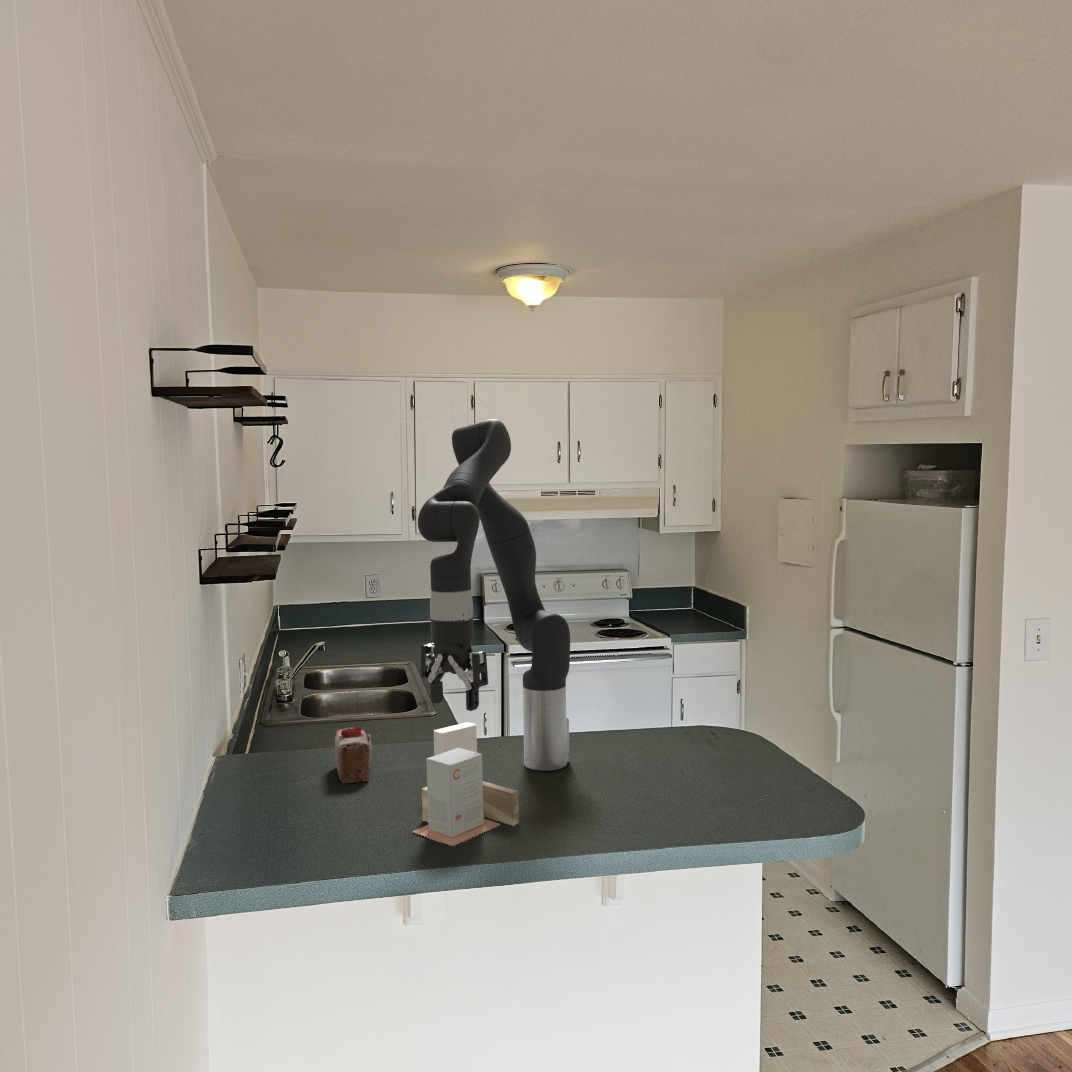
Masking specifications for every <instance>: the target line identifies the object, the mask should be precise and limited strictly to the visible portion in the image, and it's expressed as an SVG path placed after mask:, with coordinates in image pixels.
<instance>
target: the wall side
mask: <svg viewBox="0 0 1072 1072" xmlns="http://www.w3.org/2000/svg"><path fill="white" fill-rule="evenodd" d="M421 809H422V810H421V811H422V816H421V817H422V821H423V822H425V821H426V822H425V823H428V796H427V786H425V787H422V788H421Z"/></svg>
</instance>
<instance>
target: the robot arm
mask: <svg viewBox="0 0 1072 1072" xmlns="http://www.w3.org/2000/svg"><path fill="white" fill-rule="evenodd" d="M451 435H452V436H451V445H452V450H453V453H454V454H453V455H454V457H455V459H456V462H457V464H458V466H457V467H455V468H454V470H453V471H452V472H451V473H450V474H449V476H448V477H447V479H446V482H445V483H444V485H443V488H441V489H440V490H438V491H437V492H436V493H434V495H432V496H431V497H430V498H428V499H427V500H426V501H425V502H424V504H423V505H422V506H421V508H420V511H419V513H418V516H417V529H418V532H419V533H420V535H421V536H422V537H423V539H425V540H426V541H428V542H431V543H433V542H434V543H457V545H456V547H455V550H454V551H453V552H451V553H448V554H444V555H438V556H435V557H434V558H432V559H431V561H430V566H429V567H430V568H429V569H430V570H429V573H430V599H429V614H430V615H429V616H430V618H429V619H430V641H431V643H426V644H423V645H421V646H420V676H421V678H425V679H427V681H428V683H429V690H430V691H429V692H430V693H429V694H430V695H429V696H430V699H431V703H433V704H439V703H442V702H443V701H444V685H443V683H444V682H443V681H442V680H443V678H444V676H445V674H447V673H451V674H453V675H457V677H458V679H459V680H461V681H462V682H463V684H464V685H465V687H466V689H465V708H466V711H469V712H473V711H476V710H477V709H479V708H478V707H479V706H480V694H479V691H480V688H481V687H484V686H488V685H489V677H488V675H489V673H488V660H487V652H486V651H485V650H480V651H473V648H472V643H473V641H474V639H475V628H474V627H475V626H474V601H473V600H474V599H473V594H472V579H471V578H472V576H471V575H472V574H471V569H472V568H471V566H472V557H473V552H474V547H475V544H476V543H475V542H476V539H477V537H478V536H477V535H478V531H479V527H480V523H481V526H482V528H483V532H484V535H485V539H486V542H487V544H488V548H489V551H490V555H491V557H492V559H493V562H494V565H495V567H496V571H497V573H498V576H499V579H500V583H501V585H502V588H503V591H504V593H505V596H506V600H507V604H508V609H509V613H510V617H511V622H512V626H513V630H514V631H513V632H514V634H515V637H516V640H517V642H518V644H519V645H520V646H521V647H522V648H523V649H524V650H526V651H528V652H531V666H530V668H529V669H527V670H526V671H524V673H523V675H522V708H523V709H522V712H523V714H522V715H523V765H524V767H526V768H527V769H530V770H533V771H539V772H540V771H543V772H544V771H545V772H546V771H547V772H548V771H550V772H551V771H557V770H559V769H563V768H565V767H567V764H568V763H569V762H570V719H569V717H567V687H566V686H567V677H568V674H569V672H570V664H571V663H570V661H571V659H570V657H571V632H570V626H569V623H568V621H567V620H566V618H564V617H563V616H562V615H560V614H558V613H556V612H555V613H554V612H551V611H547V610H546V609H545V607H544V605H543V603H542V600H541V597H540V593H539V592H538V588H537V585H536V567H537V548H536V545H535V541H534V538H533V535H532V533H531V530H530V526H529V524H528V521H527V519H526V517H524V515H523V514H522V513H521V512H520V511H519V510H518V509H517V508H515V506H513V505H512V504H511V503H510V502H508V500H506V499H505V498H504V497H502V495H500V494H499V493H498V491H496V490H495V488H494V487H493V486H492V485H491V483H490V481H491V480H492V479H493V478H494V477H495V475H496V474H497V473H498V472H499V470H500V469H501V468H502V467H503V466H504V464H506V463H507V461H508V459H509V457H510V455H511V451H512V442H511V437H510V433H509V430H508V429H507V427H506V425H505V424H504V423H503V422H502V421H501V420H500V419H497V418H490V419H485V420H481V421H479V422H475V423H472V424H466V425H464V426H460V427H457V428H456V429H454V430H453V432H452V434H451Z"/></svg>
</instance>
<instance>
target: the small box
mask: <svg viewBox="0 0 1072 1072" xmlns="http://www.w3.org/2000/svg"><path fill="white" fill-rule="evenodd" d="M425 762H426V764H425V765H426V766H425V767H426V787H427V796H428V822H427V823H428V824H427V825H429V830H432V831H435V832H437V833H440V834H443V835H446V836H448V837H452V838H453V837H455V836H457V835H459V834H462V833H464V832H466V831H469V830H471V829H473V828H475V827H478V826H480V825H482V824H484V819H485V817H484V812H483V781H484V780H483V779H484V778H483V754H482V753H480V752H478V751H477V752H473V751H470V750H466V749H462V748H456V749H453V750H450V751H447V752H444V753H441V754H438V755H435V756H434V755H433V756H430V757H429V756H428V757H427V758H426V759H425Z"/></svg>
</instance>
